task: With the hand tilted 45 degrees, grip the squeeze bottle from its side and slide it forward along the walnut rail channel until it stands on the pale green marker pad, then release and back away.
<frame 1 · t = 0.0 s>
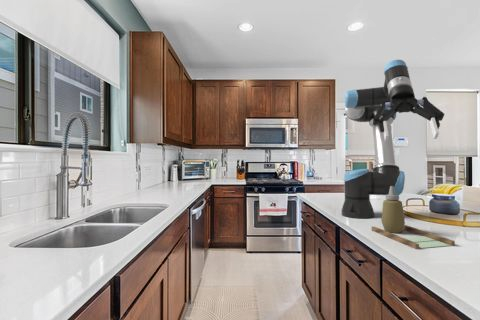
hand: (410, 137, 83), 36 cm above the counter, tool tilted 35°, fingers open, 13 cm apart
squeeze bottle: (393, 231, 103), on the counter
marker pad: (422, 242, 89), on the counter
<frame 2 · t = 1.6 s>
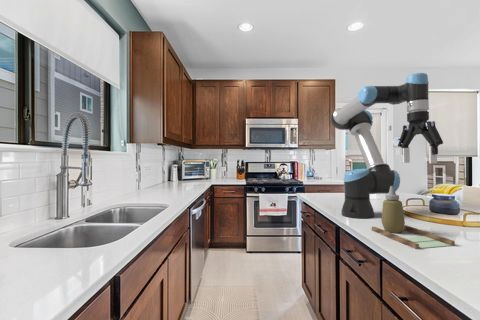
hand: (418, 163, 108), 27 cm above the counter, tool pointing down, fingers open, 13 cm apart
nothing on the counter moved.
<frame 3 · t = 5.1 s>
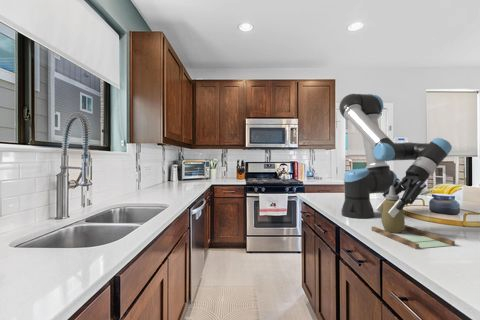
hand: (384, 213, 103), 7 cm above the counter, tool tilted 45°, fingers closed on squeeze bottle, 6 cm apart
squeeze bottle: (393, 231, 103), on the counter, touching gripper
when the fingers open (8 cm above the counter, at t = 9.3 s): squeeze bottle stays where it is, resting on marker pad.
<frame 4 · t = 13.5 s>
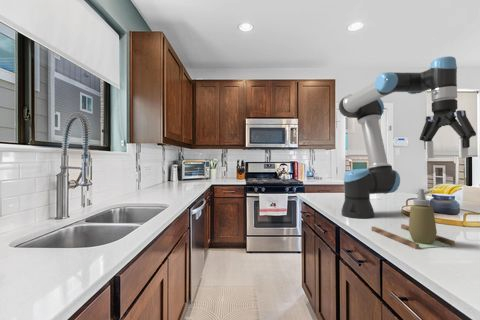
hand: (445, 157, 96), 29 cm above the counter, tool pointing down, fingers open, 13 cm apart
squeeze bottle: (422, 242, 89), resting on marker pad
at the end: squeeze bottle inside the target area (0.1 cm from its centre), resting on marker pad; squeeze bottle tilted 0°; the gripper is holding nothing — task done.
